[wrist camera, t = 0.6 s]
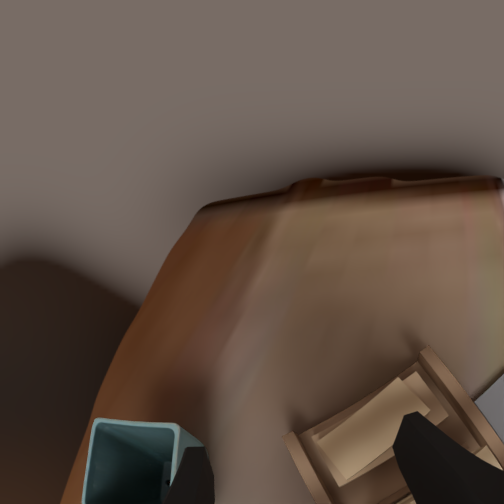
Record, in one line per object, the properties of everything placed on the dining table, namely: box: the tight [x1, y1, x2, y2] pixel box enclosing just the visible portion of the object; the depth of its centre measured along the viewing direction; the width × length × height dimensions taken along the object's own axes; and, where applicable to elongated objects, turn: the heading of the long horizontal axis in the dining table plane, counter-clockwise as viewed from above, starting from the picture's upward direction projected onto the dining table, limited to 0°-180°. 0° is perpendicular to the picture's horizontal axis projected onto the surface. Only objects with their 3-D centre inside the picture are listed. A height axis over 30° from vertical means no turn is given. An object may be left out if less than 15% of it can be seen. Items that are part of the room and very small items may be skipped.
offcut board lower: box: [312, 372, 449, 487], centre depth 21 cm, size 5×10×1 cm, turn 112°
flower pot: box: [82, 418, 209, 504], centre depth 21 cm, size 9×9×9 cm
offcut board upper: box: [317, 377, 430, 480], centre depth 21 cm, size 4×8×1 cm, turn 120°
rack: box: [282, 345, 504, 504], centre depth 19 cm, size 14×14×3 cm
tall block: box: [395, 445, 503, 504], centre depth 14 cm, size 2×9×6 cm, turn 112°
